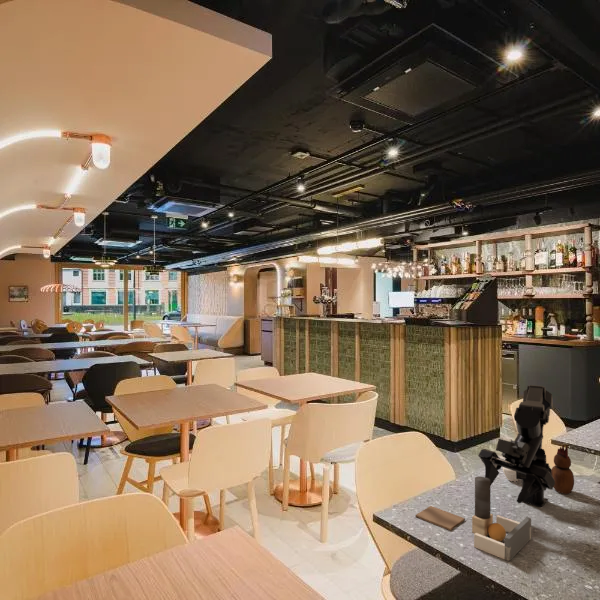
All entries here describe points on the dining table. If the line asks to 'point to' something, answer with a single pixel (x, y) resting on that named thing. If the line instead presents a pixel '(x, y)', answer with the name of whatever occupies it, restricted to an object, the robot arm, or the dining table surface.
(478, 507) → the ball
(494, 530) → the ball
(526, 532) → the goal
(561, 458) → the wooden figurine
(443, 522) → the brown rectangular plate
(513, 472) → the muffin
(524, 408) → the robot arm
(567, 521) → the dining table surface
